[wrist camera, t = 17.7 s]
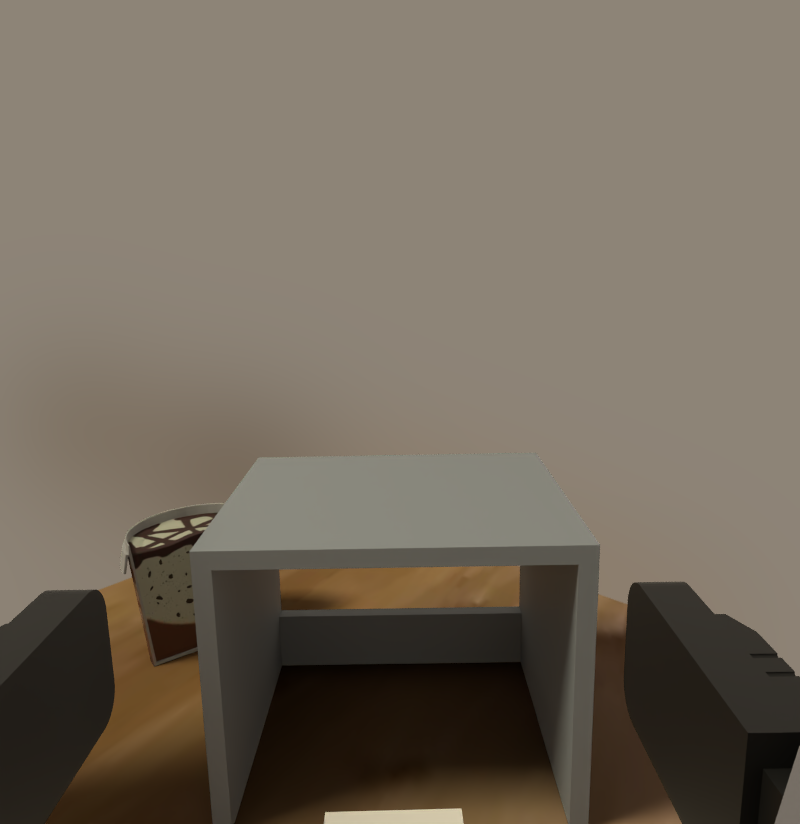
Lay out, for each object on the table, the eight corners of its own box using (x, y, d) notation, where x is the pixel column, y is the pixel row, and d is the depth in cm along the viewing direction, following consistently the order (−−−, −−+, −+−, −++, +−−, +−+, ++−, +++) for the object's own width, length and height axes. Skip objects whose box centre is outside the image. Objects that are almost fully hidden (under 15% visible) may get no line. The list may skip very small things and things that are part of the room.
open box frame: (213, 832, 38) (189, 551, 35) (271, 658, 55) (258, 457, 51) (588, 827, 38) (599, 545, 34) (531, 654, 54) (535, 452, 51)
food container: (247, 595, 65) (240, 491, 63) (280, 620, 60) (274, 509, 58) (109, 640, 58) (96, 524, 56) (134, 673, 53) (120, 547, 51)
